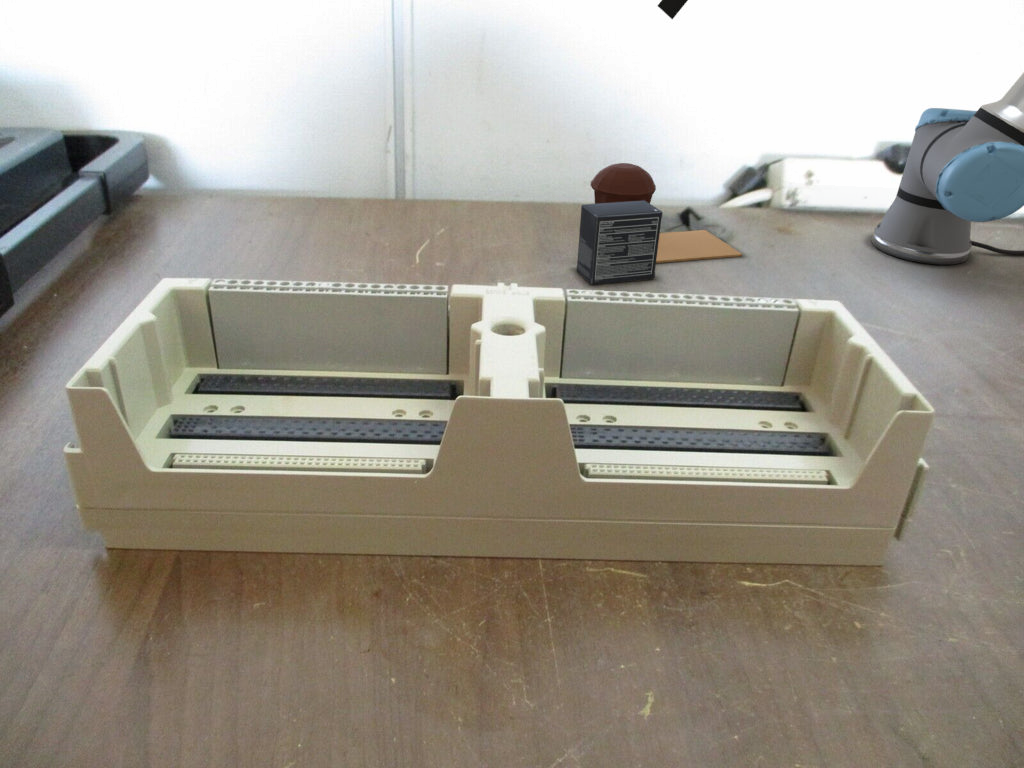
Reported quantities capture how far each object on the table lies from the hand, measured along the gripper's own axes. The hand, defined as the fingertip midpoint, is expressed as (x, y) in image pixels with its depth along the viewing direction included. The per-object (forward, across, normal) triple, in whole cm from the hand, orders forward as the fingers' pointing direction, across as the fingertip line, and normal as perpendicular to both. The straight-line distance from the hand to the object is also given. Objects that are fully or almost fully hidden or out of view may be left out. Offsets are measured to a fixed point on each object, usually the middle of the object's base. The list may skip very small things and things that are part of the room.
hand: (666, 8), depth 109 cm
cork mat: (+26, 0, +25) cm, 36 cm away
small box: (+30, +14, +18) cm, 38 cm away
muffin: (+31, -11, +18) cm, 38 cm away
